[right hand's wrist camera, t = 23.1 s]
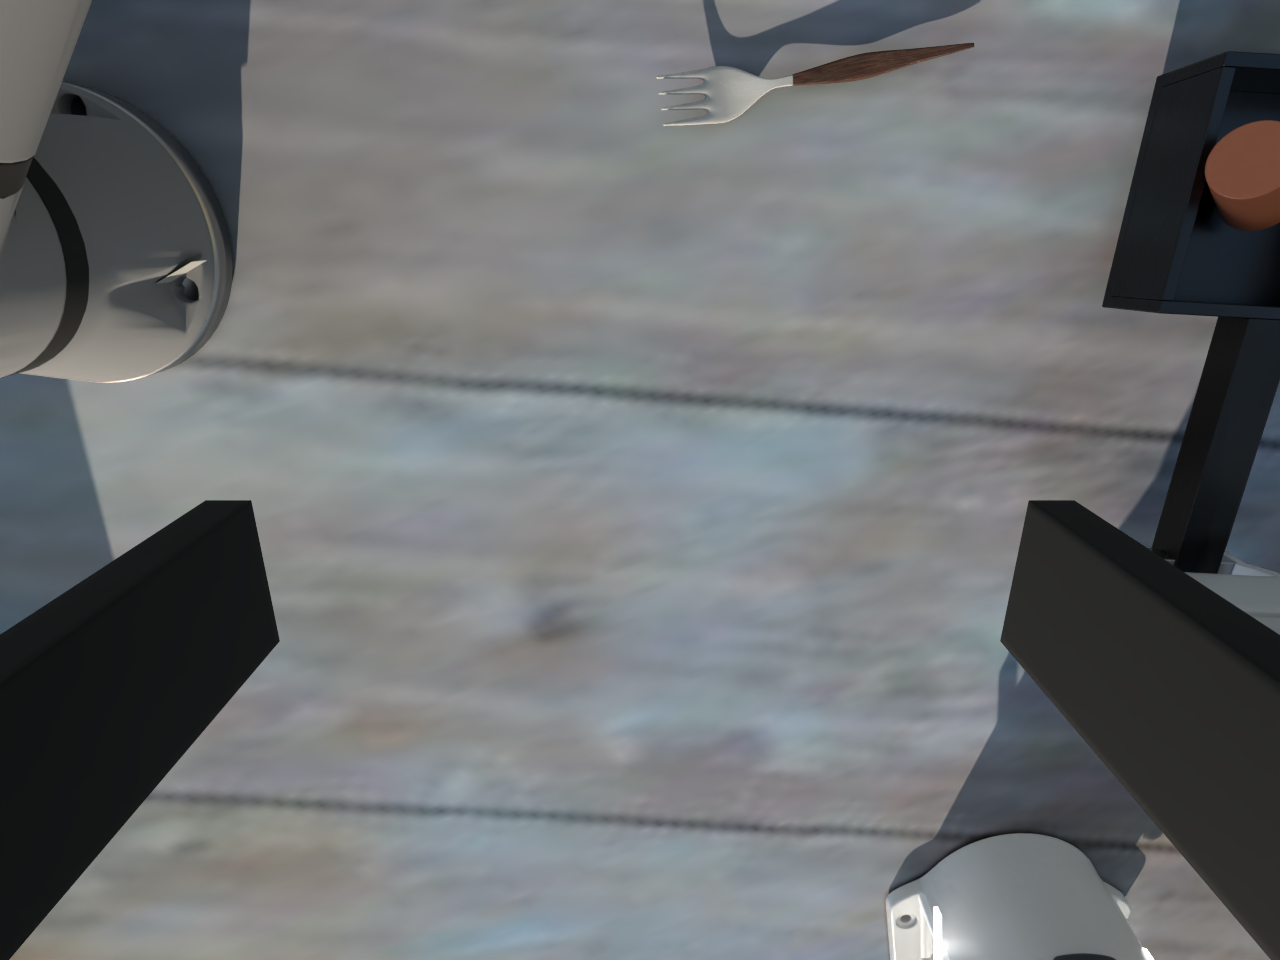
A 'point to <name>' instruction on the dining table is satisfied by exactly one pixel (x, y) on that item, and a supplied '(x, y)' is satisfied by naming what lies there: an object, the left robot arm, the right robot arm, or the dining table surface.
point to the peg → (1247, 176)
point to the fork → (788, 80)
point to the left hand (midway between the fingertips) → (1170, 560)
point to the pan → (1205, 290)
